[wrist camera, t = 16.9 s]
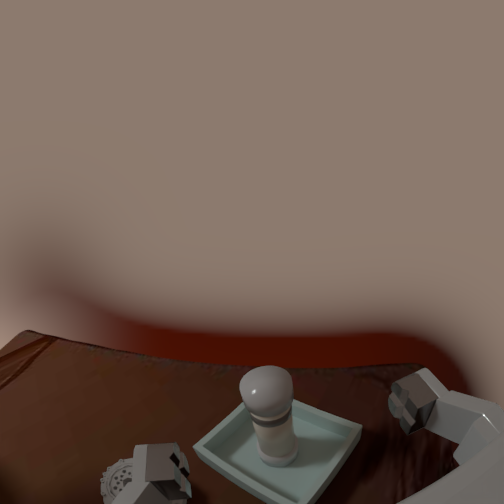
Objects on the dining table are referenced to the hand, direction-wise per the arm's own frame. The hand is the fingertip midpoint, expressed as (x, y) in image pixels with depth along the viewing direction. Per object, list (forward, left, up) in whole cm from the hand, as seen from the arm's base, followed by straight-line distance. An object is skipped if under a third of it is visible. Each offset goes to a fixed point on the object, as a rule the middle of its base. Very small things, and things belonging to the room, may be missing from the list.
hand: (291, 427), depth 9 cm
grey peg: (-9, +8, -22) cm, 24 cm away
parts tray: (-9, +8, -22) cm, 25 cm away
